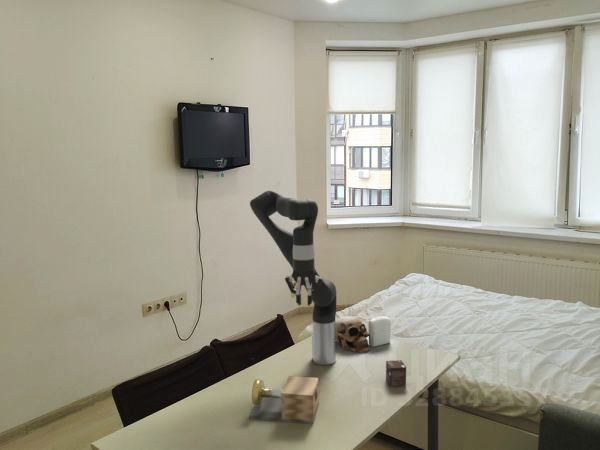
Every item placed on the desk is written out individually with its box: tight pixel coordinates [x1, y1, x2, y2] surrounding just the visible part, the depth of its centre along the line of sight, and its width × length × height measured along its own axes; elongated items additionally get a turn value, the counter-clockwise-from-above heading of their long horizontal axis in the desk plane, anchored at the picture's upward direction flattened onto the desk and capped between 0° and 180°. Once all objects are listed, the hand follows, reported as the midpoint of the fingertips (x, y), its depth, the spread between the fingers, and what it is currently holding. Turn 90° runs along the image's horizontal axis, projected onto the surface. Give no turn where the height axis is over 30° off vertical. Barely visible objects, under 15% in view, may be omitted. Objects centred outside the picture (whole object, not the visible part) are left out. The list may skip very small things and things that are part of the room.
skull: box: [335, 315, 372, 354], centre depth 211 cm, size 16×17×13 cm
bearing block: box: [248, 375, 320, 425], centre depth 157 cm, size 21×12×10 cm, turn 79°
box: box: [385, 359, 407, 388], centre depth 176 cm, size 6×6×7 cm
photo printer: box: [368, 315, 391, 347], centre depth 211 cm, size 10×4×12 cm, turn 116°
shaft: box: [251, 379, 283, 406], centre depth 157 cm, size 16×8×8 cm, turn 79°
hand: (304, 304), depth 169 cm, fingers open, 3 cm apart
